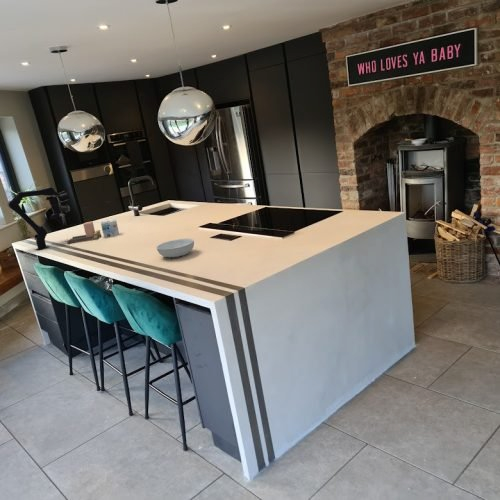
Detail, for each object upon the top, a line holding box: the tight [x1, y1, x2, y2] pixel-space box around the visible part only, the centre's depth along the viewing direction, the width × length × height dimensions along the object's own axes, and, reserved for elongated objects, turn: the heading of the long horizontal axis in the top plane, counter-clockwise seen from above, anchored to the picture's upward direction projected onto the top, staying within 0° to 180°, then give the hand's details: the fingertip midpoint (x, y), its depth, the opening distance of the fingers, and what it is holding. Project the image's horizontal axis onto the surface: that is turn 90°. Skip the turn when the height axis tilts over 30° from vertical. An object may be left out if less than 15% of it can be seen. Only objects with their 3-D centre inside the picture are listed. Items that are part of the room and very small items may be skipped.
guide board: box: [66, 229, 102, 245], centre depth 340 cm, size 11×21×4 cm, turn 93°
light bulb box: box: [100, 219, 120, 239], centre depth 339 cm, size 11×7×11 cm, turn 105°
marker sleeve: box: [83, 221, 96, 237], centre depth 339 cm, size 6×5×10 cm
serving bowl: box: [156, 238, 195, 259], centre depth 264 cm, size 21×21×7 cm
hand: (63, 225), depth 337 cm, fingers closed
